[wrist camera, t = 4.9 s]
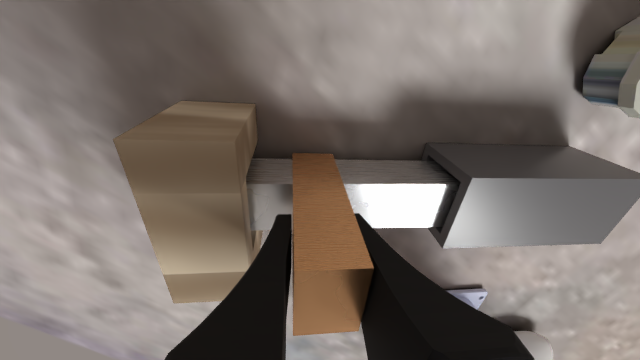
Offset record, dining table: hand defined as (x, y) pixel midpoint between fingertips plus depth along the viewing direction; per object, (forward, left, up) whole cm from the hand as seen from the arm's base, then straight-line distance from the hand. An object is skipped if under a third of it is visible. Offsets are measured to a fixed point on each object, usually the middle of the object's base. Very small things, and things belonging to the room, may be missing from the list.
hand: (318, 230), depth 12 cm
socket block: (0, +5, -6) cm, 8 cm away
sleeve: (0, -13, -6) cm, 14 cm away
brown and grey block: (0, -3, -6) cm, 6 cm away
